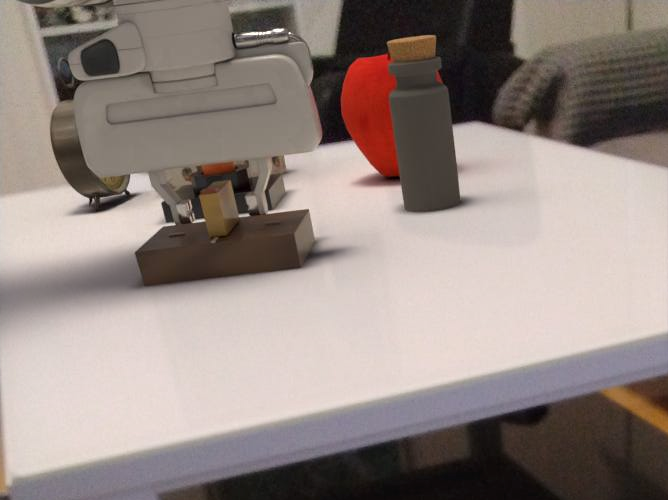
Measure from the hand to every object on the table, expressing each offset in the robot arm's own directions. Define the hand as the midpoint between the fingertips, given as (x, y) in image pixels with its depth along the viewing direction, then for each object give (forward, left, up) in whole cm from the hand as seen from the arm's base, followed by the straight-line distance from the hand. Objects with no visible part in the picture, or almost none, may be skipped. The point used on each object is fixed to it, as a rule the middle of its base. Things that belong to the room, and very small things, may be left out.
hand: (222, 218), depth 91 cm
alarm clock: (-24, +40, -4) cm, 47 cm away
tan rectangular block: (0, 0, -1) cm, 1 cm away
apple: (+14, +34, -4) cm, 37 cm away
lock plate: (0, 0, -4) cm, 4 cm away
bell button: (-6, +28, 0) cm, 29 cm away
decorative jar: (-9, +44, -4) cm, 45 cm away
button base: (-6, +28, -4) cm, 29 cm away
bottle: (+18, +15, -4) cm, 24 cm away
